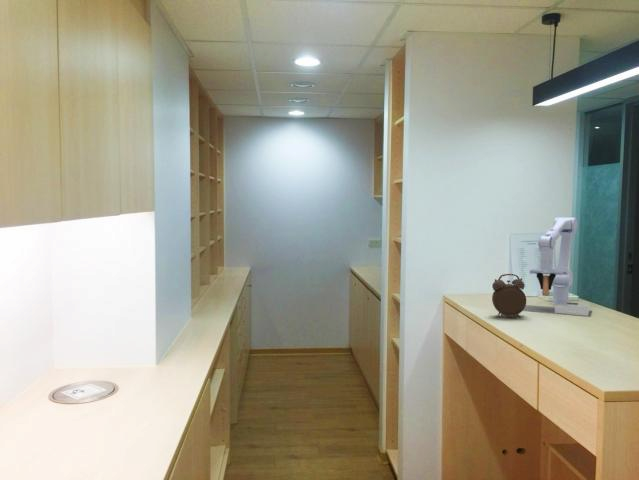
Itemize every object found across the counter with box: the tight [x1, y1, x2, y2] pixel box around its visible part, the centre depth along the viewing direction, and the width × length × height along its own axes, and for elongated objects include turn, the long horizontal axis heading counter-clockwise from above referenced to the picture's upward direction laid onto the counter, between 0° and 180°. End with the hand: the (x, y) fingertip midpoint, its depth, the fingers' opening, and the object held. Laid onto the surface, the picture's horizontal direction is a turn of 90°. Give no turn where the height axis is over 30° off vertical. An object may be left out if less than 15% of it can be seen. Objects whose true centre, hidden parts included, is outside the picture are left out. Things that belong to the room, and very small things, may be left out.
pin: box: [541, 274, 550, 297], centre depth 253 cm, size 3×3×10 cm
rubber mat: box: [522, 304, 593, 318], centre depth 252 cm, size 14×30×1 cm, turn 60°
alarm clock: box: [491, 273, 527, 318], centre depth 242 cm, size 15×7×20 cm, turn 84°
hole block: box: [554, 300, 591, 317], centre depth 248 cm, size 12×14×4 cm
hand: (545, 289), depth 253 cm, fingers closed on pin, 3 cm apart
